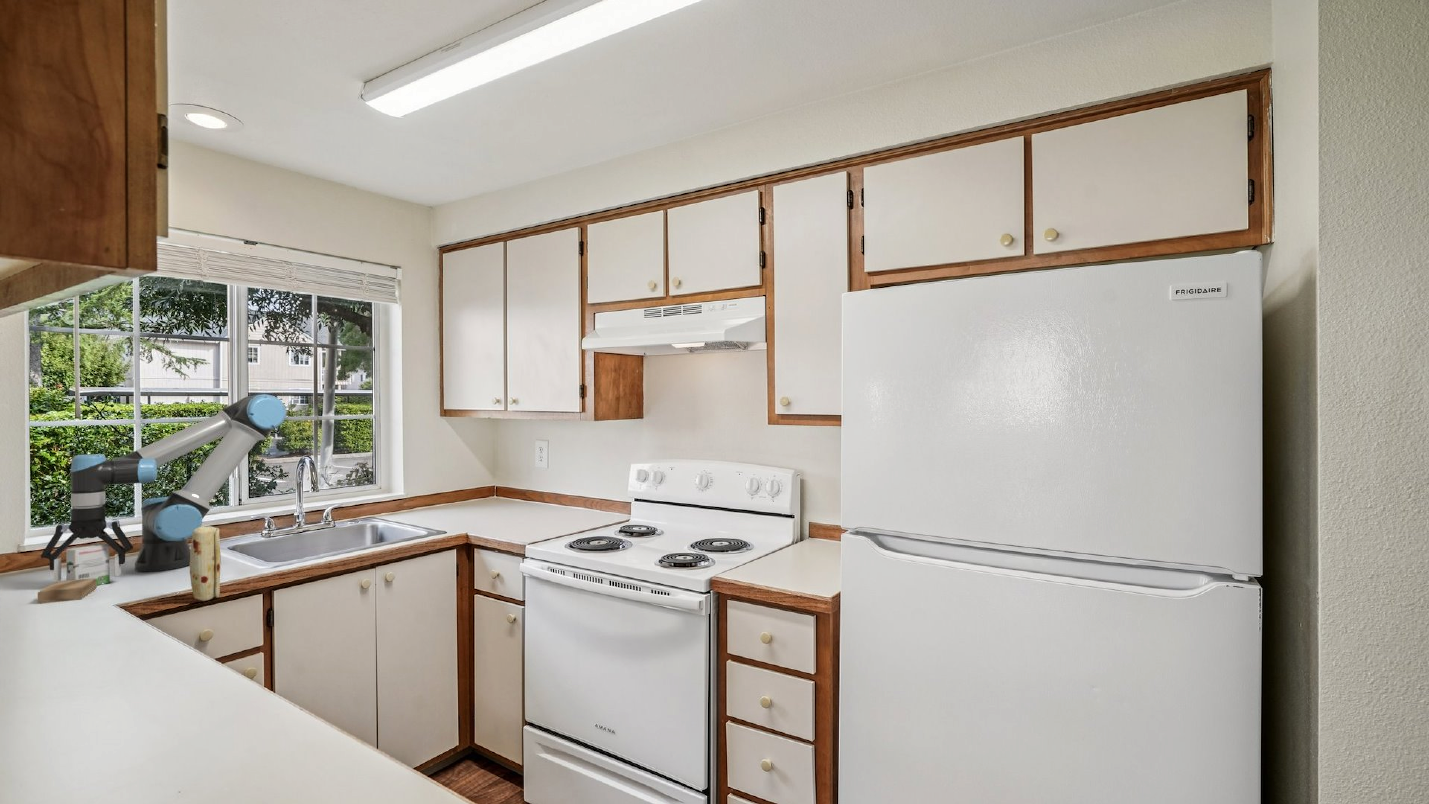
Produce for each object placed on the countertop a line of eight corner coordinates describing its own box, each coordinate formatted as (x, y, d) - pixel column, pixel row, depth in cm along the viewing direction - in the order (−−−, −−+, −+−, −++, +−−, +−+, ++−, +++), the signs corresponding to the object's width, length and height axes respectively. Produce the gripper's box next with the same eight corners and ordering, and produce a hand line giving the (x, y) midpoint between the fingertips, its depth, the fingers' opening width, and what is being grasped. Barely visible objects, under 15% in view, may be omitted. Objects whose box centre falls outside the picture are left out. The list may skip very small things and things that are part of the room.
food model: (195, 596, 189) (195, 524, 189) (224, 593, 192) (224, 522, 192) (185, 605, 180) (185, 530, 180) (216, 602, 183) (216, 528, 183)
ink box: (100, 581, 206) (100, 542, 206) (110, 583, 204) (110, 543, 205) (64, 588, 198) (65, 548, 198) (74, 590, 196) (74, 549, 197)
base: (96, 589, 198) (96, 577, 198) (81, 599, 187) (81, 587, 187) (55, 593, 194) (55, 581, 194) (37, 603, 183) (37, 591, 183)
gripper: (145, 502, 211) (145, 570, 211) (37, 508, 199) (36, 580, 199) (138, 505, 204) (138, 575, 204) (25, 511, 192) (25, 586, 192)
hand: (88, 578), depth 201 cm, fingers open, 13 cm apart
